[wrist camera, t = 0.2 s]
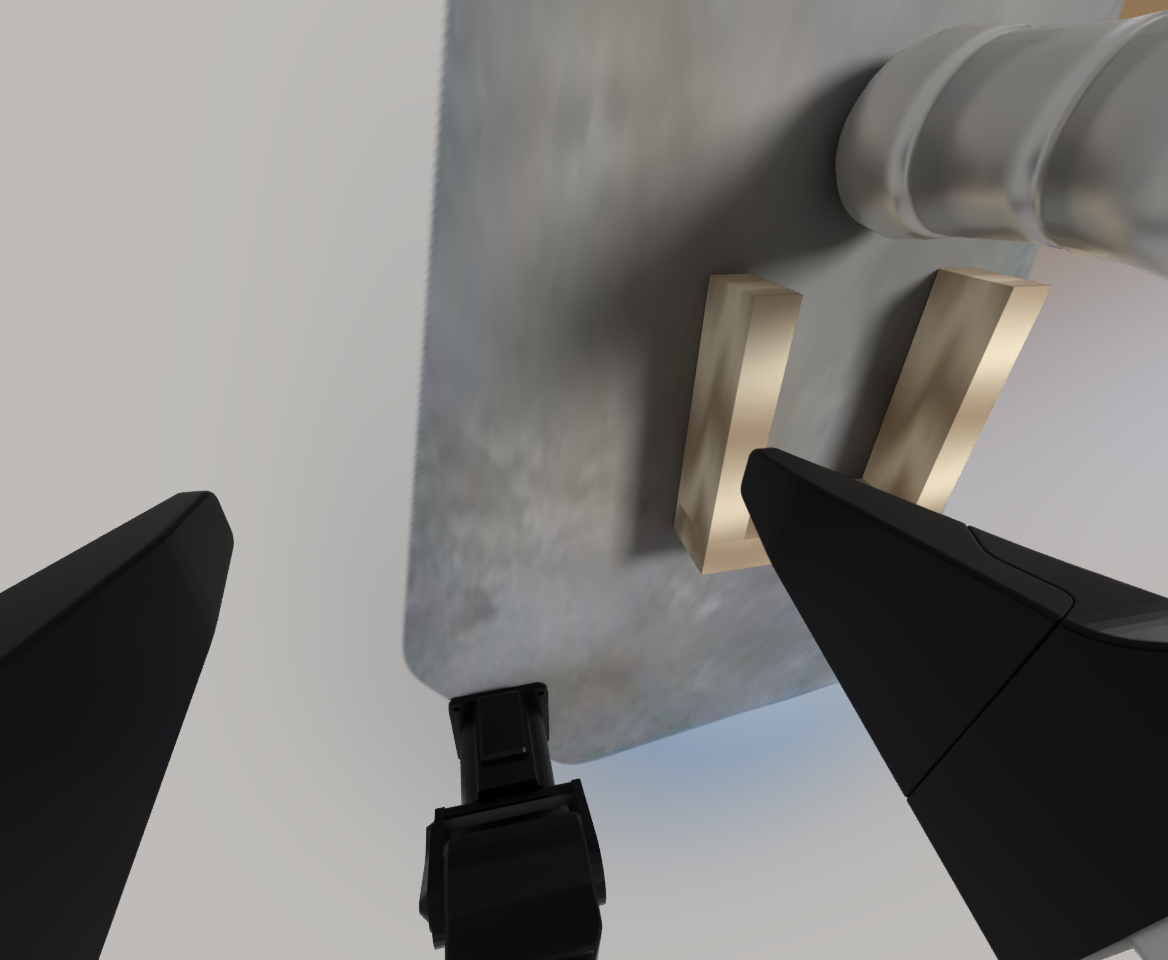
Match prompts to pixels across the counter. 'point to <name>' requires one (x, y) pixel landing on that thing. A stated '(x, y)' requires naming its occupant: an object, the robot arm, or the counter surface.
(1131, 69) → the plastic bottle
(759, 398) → the bracket
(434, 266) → the counter surface
